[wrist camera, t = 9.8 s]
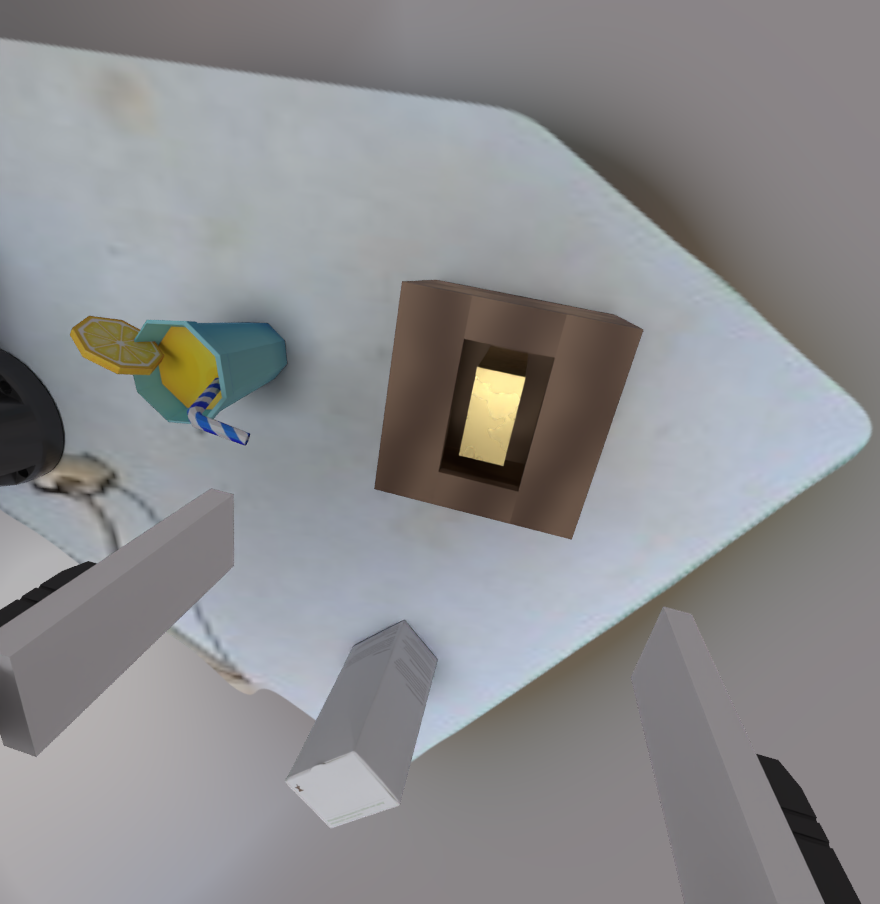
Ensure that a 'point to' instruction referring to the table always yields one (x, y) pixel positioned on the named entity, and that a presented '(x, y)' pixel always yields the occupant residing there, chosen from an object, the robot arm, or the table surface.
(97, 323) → the cup
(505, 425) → the block
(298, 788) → the skincare box
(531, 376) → the coin box
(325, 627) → the table surface
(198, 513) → the robot arm
